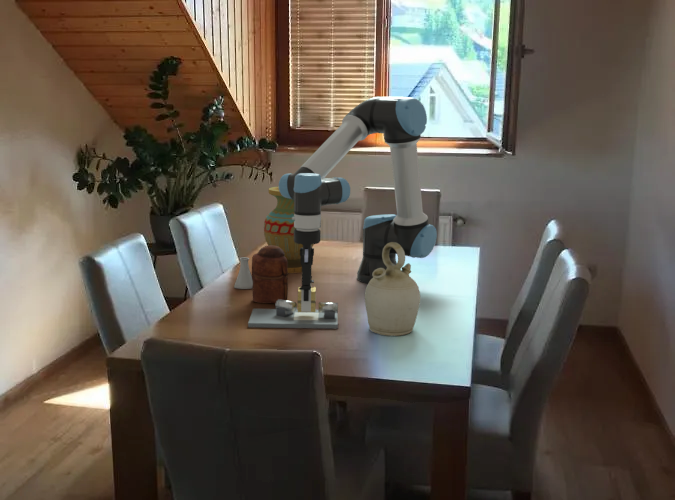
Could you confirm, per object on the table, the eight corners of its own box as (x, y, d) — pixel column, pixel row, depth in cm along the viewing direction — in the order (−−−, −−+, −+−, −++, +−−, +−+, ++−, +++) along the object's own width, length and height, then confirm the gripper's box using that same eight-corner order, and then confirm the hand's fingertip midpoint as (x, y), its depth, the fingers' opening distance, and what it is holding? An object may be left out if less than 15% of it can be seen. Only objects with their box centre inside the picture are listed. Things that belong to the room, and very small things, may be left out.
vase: (308, 261, 283) (309, 185, 277) (323, 273, 264) (325, 191, 258) (258, 264, 277) (258, 186, 270) (270, 276, 258) (270, 193, 252)
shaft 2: (318, 318, 207) (318, 304, 206) (318, 314, 211) (318, 300, 210) (337, 319, 207) (337, 305, 206) (337, 314, 211) (337, 300, 210)
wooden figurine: (290, 299, 230) (290, 244, 226) (286, 305, 224) (287, 248, 220) (253, 297, 231) (253, 242, 227) (249, 303, 225) (248, 246, 221)
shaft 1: (298, 314, 211) (298, 300, 210) (290, 318, 207) (290, 304, 206) (282, 311, 213) (282, 297, 212) (274, 315, 210) (274, 301, 209)
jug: (379, 341, 193) (382, 249, 187) (354, 324, 206) (356, 238, 201) (429, 334, 199) (433, 245, 193) (402, 318, 212) (405, 235, 207)
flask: (251, 290, 240) (251, 261, 238) (230, 289, 241) (230, 259, 239) (258, 285, 247) (258, 256, 245) (237, 283, 248) (237, 255, 246)
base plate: (337, 313, 216) (337, 309, 216) (337, 328, 202) (337, 324, 202) (253, 312, 216) (253, 308, 215) (248, 327, 202) (248, 322, 202)
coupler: (298, 306, 211) (298, 286, 210) (315, 306, 211) (315, 287, 210) (297, 312, 206) (297, 291, 205) (315, 312, 206) (315, 291, 205)
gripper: (295, 223, 212) (294, 299, 217) (292, 234, 195) (291, 317, 199) (321, 223, 212) (319, 299, 217) (320, 235, 195) (318, 318, 199)
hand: (306, 308), depth 208 cm, fingers closed on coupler, 5 cm apart
